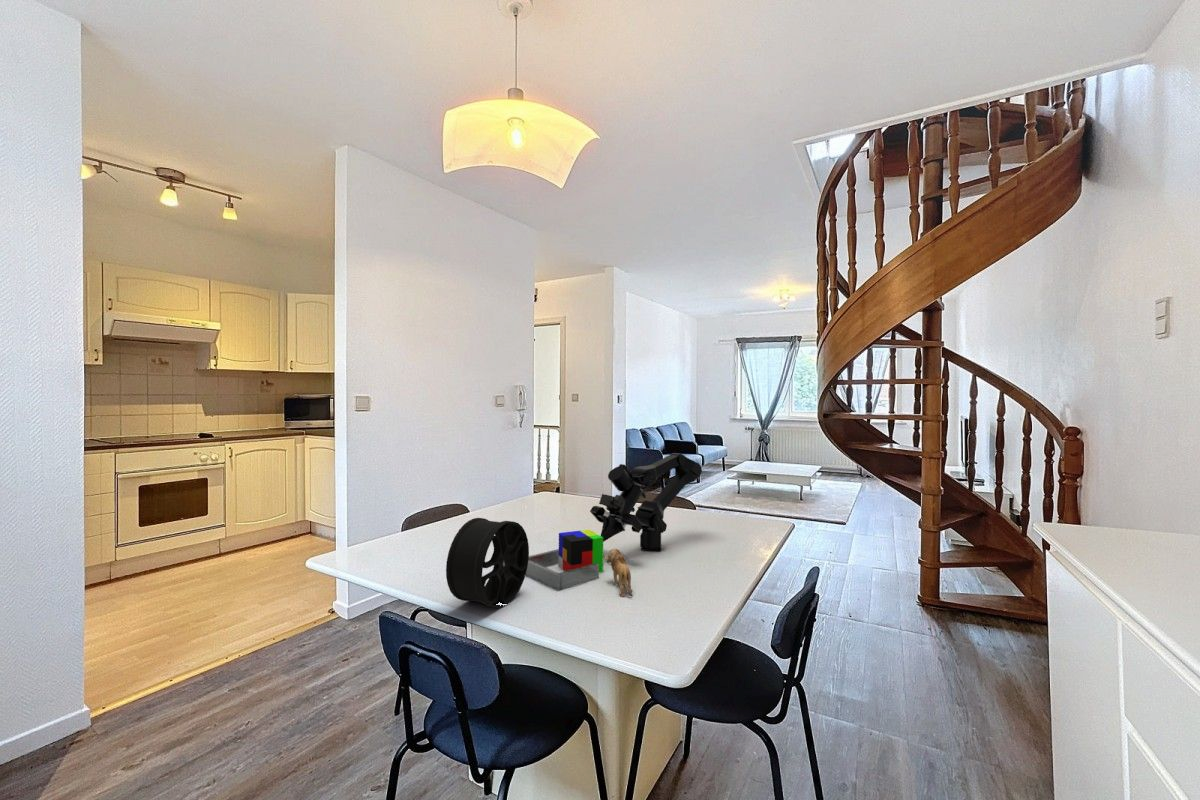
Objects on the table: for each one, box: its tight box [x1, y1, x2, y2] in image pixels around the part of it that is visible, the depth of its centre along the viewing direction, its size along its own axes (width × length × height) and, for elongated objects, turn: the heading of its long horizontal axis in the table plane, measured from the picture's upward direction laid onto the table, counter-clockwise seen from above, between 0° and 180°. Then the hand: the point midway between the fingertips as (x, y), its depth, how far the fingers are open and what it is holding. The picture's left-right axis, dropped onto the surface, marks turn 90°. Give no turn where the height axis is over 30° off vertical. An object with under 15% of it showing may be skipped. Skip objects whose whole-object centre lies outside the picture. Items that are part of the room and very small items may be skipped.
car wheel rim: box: [445, 517, 530, 609], centre depth 124 cm, size 20×10×20 cm, turn 156°
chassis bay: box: [525, 548, 600, 591], centre depth 143 cm, size 14×18×4 cm
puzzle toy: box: [558, 529, 604, 573], centre depth 148 cm, size 10×10×10 cm
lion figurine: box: [603, 548, 634, 598], centre depth 133 cm, size 15×5×9 cm, turn 20°
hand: (601, 541), depth 153 cm, fingers closed
